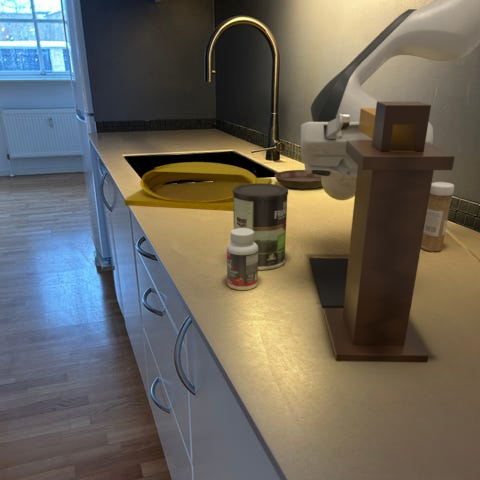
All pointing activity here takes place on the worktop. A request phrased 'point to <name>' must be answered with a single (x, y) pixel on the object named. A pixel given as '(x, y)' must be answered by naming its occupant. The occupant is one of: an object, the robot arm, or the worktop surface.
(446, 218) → the spice jar
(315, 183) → the plant saucer
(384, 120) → the brown and tan bar
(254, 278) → the pill bottle
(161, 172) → the mold
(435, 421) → the worktop surface
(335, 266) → the mat
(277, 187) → the coffee can
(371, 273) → the pedestal
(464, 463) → the worktop surface
